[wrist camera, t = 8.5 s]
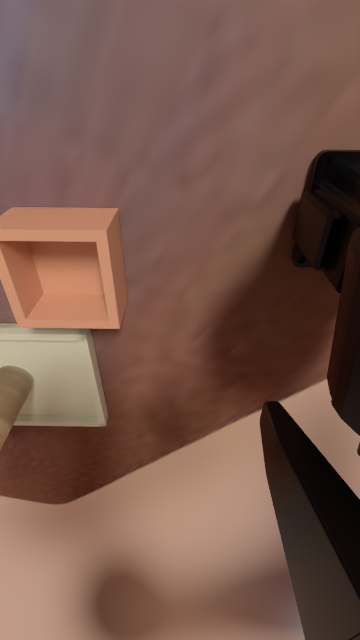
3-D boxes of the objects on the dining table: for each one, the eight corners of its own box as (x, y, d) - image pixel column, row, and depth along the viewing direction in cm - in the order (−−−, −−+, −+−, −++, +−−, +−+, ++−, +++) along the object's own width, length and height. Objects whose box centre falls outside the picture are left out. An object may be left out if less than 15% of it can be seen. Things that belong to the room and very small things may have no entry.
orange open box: (118, 208, 18) (106, 230, 16) (128, 297, 22) (119, 328, 19) (12, 207, 19) (-19, 229, 16) (39, 296, 22) (18, 327, 19)
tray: (89, 324, 24) (85, 334, 23) (108, 415, 30) (106, 426, 29) (-97, 321, 24) (-109, 331, 23) (-38, 413, 30) (-45, 424, 29)
